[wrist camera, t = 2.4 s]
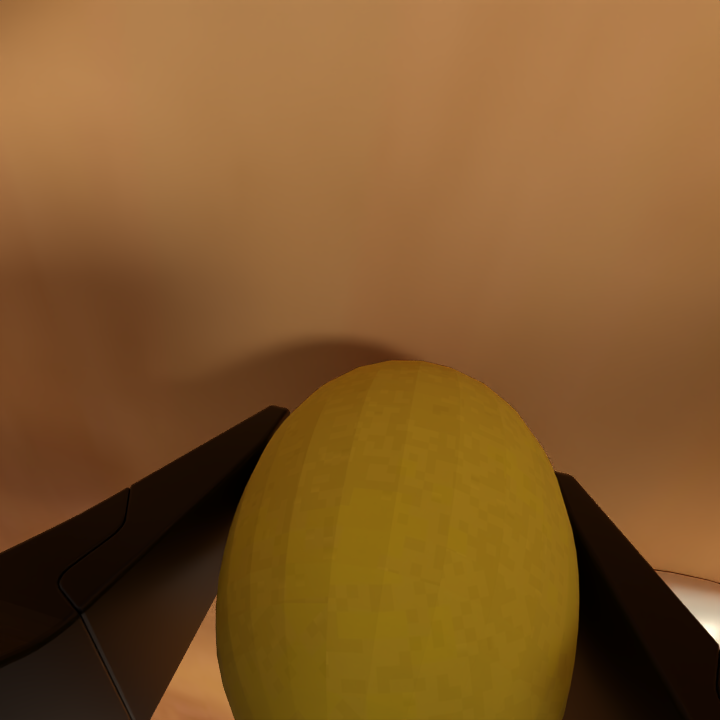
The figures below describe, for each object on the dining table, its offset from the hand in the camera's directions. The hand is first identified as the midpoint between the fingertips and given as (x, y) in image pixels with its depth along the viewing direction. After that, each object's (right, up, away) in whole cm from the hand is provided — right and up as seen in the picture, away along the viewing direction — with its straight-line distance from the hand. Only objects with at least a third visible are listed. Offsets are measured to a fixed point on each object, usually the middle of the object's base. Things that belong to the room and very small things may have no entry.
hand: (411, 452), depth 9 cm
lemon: (0, +1, +2) cm, 2 cm away
